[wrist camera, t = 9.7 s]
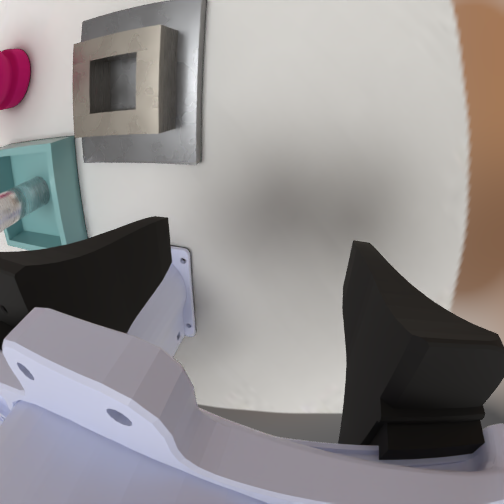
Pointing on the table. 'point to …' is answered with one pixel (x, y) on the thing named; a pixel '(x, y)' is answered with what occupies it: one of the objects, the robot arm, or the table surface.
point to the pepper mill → (13, 77)
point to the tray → (60, 189)
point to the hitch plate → (127, 85)
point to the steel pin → (22, 201)
